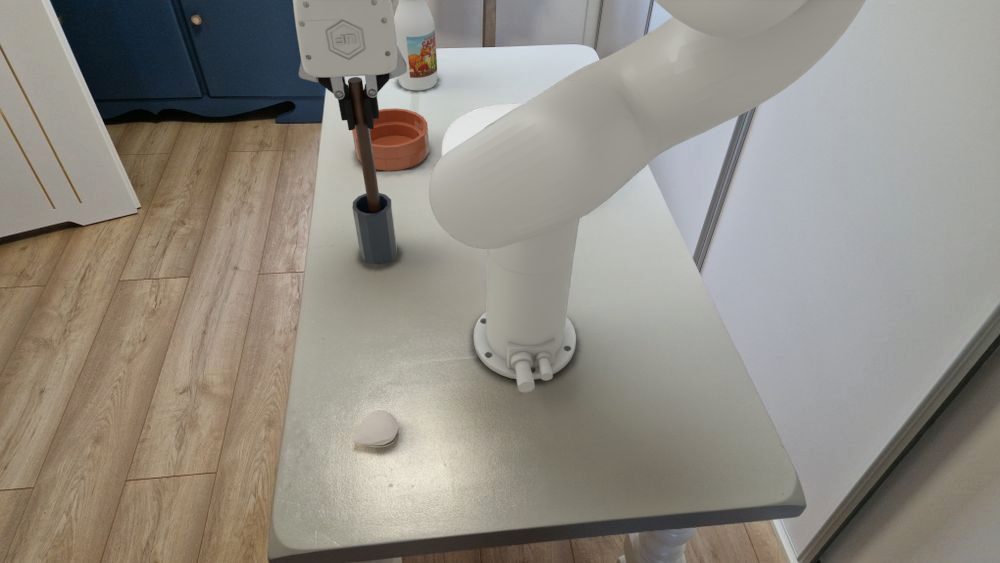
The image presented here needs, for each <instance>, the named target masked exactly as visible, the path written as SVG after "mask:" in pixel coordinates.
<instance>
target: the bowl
mask: <svg viewBox="0 0 1000 563" xmlns="http://www.w3.org/2000/svg"><path fill="white" fill-rule="evenodd" d="M428 127H429V126H428V121H427V120H426V118H425V117H424V116H422V115H421V114H420V113H418V112H415V111H413V110H409V109H405V108H395V107H394V108H382V109H379V119H374V129H369V130H370V136H371V143H372V150H373V157H374V163H375V170H379V171H387V172H388V171H389V172H391V171H394V172H395V171H400V170H405V169H410V168H412V167H414V166H416V165H418V164H420V163H421V162H422V161H424V160H425V159H426V158H427V157H428V154H429V153H430V142H429V140H430V139H429V128H428ZM351 132H352V138H353V144H354V151H355V156H356V158H357V160H358V161H359V162H360V163H361V158H360V152H359V146H358V140H357V134H356V128H355V129H353V130H351Z"/></svg>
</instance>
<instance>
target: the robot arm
mask: <svg viewBox="0 0 1000 563" xmlns="http://www.w3.org/2000/svg"><path fill="white" fill-rule="evenodd" d="M653 1H654V2H655V3H657V5H659V6H660V7H661V8H662V9H664V10H665V11H666V12H667V13H668V14H669V15H671V16H672V17H670V18H668V19H667V20H666V21H665V22H663V23H662V24H660V25H659V26H658V27H656V28H654V29H652V30H651V31H649V32H648V33H646V34H645V35H643V36H641V37H640V38H637V39H636V40H635V41H633V42H631V43H629V44H628V45H626V46H624V47H622V48H621V49H618V50H617V51H615V52H614V53H612V54H609V55H608V56H605V57H603V58H601V59H599V60H596V61H594V62H592V63H588V64H587V65H585V66H583V67H581V68H579V69H577V70H575V71H573V72H572V73H570V74H568V75H567V76H566V77H565V76H564V78H562V79H560V80H559V81H557V82H555V83H554V84H553V85H551V86H549V87H548V88H546V89H545V90H543V91H542V92H540V93H539V94H537V95H535V96H534V97H532V98H531V99H529V100H528V101H526V102H525V104H523V105H520V106H519V107H517V108H515V109H513V110H511V111H510V112H508V113H507V114H505V115H504V116H502V117H500V118H499V119H497V120H496V121H494V122H493V123H491V124H489V125H488V126H486V127H485V128H484V129H483V130H481V131H480V132H478V133H477V134H475V135H473V136H472V137H470V138H469V139H467V140H466V141H464V142H462V143H461V144H459V145H458V146H456V147H455V148H453V149H451V150H450V151H448V152H447V153H446V154H444V155H443V156H442V157H441V156H440V158H439V159H438V161H437V163H436V164H435V165H434V167H433V169H432V172H431V175H430V178H429V183H428V200H429V205H430V209H431V212H432V215H433V216H434V218H435V220H436V222H437V223H438V225H439V226H440V228H441V229H442V230H443V231H444V232H445V233H446V234H447V235H449V237H451V238H452V239H453V240H455V241H457V242H459V243H461V244H463V245H466V246H468V247H471V248H474V249H478V250H486V289H485V290H486V301H485V304H486V306H485V308H486V309H485V311H484V312H483V313H482V314H481V315H480V316H479V318H478V319H477V321H476V322H475V325H474V329H473V346H474V349H475V352H476V354H477V357H478V358H479V360H480V361H481V362H482V363H483V364H484V365H485V366H486V367H487V368H488V369H490V370H491V371H493V372H494V373H496V374H498V375H500V376H503V377H505V378H509V379H514V380H516V385H517V390H518V391H519V392H520V393H523V394H524V393H530V392H533V391H534V390H535V388H536V383H535V380H542V381H546V382H547V381H550V380H552V379H553V378H554V375H555V374H556V373H558V372H560V371H561V370H562V369H564V368H565V367H567V365H568V363H569V362H570V361H571V360H572V358H573V356H574V354H575V350H576V345H577V332H576V329H575V327H574V324H573V323H572V321H571V320H570V318H569V317H568V316H567V314H568V306H569V300H570V299H569V298H570V290H571V281H572V274H573V268H574V267H573V266H574V258H575V253H576V246H577V238H578V237H577V236H578V231H579V226H580V219H582V218H583V217H585V216H587V215H589V214H590V213H592V212H593V211H594V210H596V209H598V208H599V207H601V206H602V205H603V204H604V203H606V201H608V200H609V199H611V198H612V197H613V196H614V195H615V194H616V193H617V192H619V191H620V190H621V189H622V188H623V187H624V186H625V185H626V184H627V183H629V182H630V181H631V180H632V179H633V178H634V177H635V176H637V174H639V173H640V172H641V171H642V170H643V169H644V168H645V167H647V166H648V165H649V164H650V163H651V162H653V161H654V159H656V158H657V157H658V156H660V155H661V154H663V153H664V152H666V151H668V150H670V149H672V148H674V147H675V146H678V145H680V144H682V143H684V142H686V141H688V140H690V139H692V138H695V137H697V136H699V135H702V134H704V133H706V132H708V131H710V130H712V129H714V128H716V127H718V126H720V125H721V124H724V123H726V122H728V121H731V120H732V119H735V118H737V117H739V116H741V115H743V114H745V113H747V112H749V111H751V110H753V109H755V108H756V107H758V106H761V105H762V104H764V103H765V102H767V101H769V100H770V99H772V98H774V97H775V96H778V94H780V93H781V92H783V91H784V90H786V89H788V87H790V86H791V85H792V84H794V83H796V82H797V81H798V80H799V79H800V78H801V77H803V76H804V75H805V74H806V73H807V72H808V71H810V70H811V69H812V68H813V67H814V66H816V64H817V63H818V62H820V60H822V59H823V58H824V57H825V56H826V55H827V53H828V52H829V51H830V50H831V49H832V48H833V47H834V46H835V45H836V44H837V43H838V41H839V40H840V39H841V38H842V36H844V34H845V33H846V32H847V30H848V29H849V27H850V26H851V25H852V23H853V22H854V20H855V19H856V18H857V16H858V14H859V13H860V11H861V9H862V8H863V6H864V4H865V3H866V1H867V0H653ZM292 4H293V5H292V6H293V15H294V22H295V29H296V37H297V42H298V48H299V55H300V64H299V68H298V69H299V70H298V77H299V78H300V79H302V80H305V81H310V82H313V83H318V84H320V85H321V86H322V87H324V88H325V90H327V91H329V92H330V93H331V94H333V96H334V98H335V99H337V101H338V107H339V113H340V118H341V122H342V121H346V123H347V129H348V131H353V129H355V120H354V114H353V108H352V102H351V96H350V91H349V85H348V83H347V81H346V77H363V76H364V81H365V84H364V88H363V89H364V96H363V102H364V108H365V115H366V122H367V128H369V129H374V119H379V110H380V108H379V101H378V93H379V92H380V91H381V89H383V87H384V86H385V85H386V84H387V83H388V82H389V81H390V80H392V79H395V78H398V76H400V75H402V74H405V73H406V72H407V64H406V62H405V60H404V58H403V56H402V54H401V52H400V50H399V48H398V46H397V41H396V32H395V25H394V13H393V8H392V3H391V0H292Z"/></svg>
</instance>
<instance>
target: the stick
mask: <svg viewBox="0 0 1000 563" xmlns="http://www.w3.org/2000/svg"><path fill="white" fill-rule="evenodd" d="M347 85H348V87H349V91H350V96H351V102H352V108H353V114H354V120H355V128H356V134H357V140H358V146H359V152H360V158H361V162H360V164H361V169H362V175H363V176H362V177H363V182H364V189H365V194H366V195H367V201H368V207H369V210H370V211H372V212H376V211H379V210H380V209H381V204H380V197H379V193H380V192H379V184H378V176H377V169H375V163H374V157H373V150H372V143H371V136H370V130H369V128H367V122H366V115H365V108H364V102H363V96H364V89H365V88H364V83H363V79H362V77H360V76H351V77H349V78H348V79H347Z"/></svg>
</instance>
